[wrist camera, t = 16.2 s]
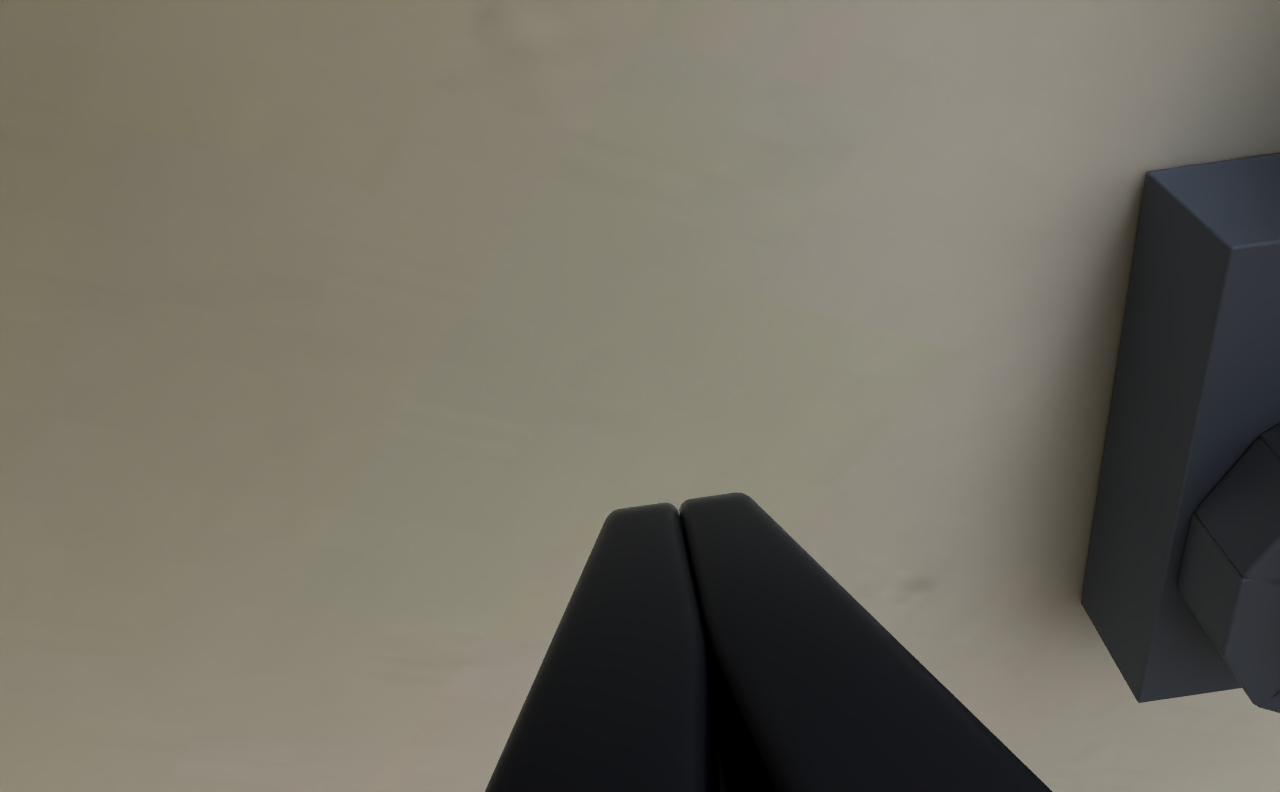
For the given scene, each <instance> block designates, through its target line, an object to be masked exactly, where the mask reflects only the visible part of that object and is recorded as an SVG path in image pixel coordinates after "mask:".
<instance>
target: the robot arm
mask: <svg viewBox="0 0 1280 792" xmlns="http://www.w3.org/2000/svg"><path fill="white" fill-rule="evenodd" d="M485 792H1052V791H1051V790H1050V789H1049V788H1048V787H1047V786H1046V785H1045V784H1044V783H1043V782H1042V781H1041V780H1040V779H1039V778H1038V777H1037V776H1036V775H1035V774H1034V773H1033V772H1032V771H1031V770H1030V769H1029V768H1028V767H1027V766H1026V765H1025V764H1024V763H1023V762H1021V761H1020V760H1019V759H1018V758H1017V757H1016V756H1015V755H1014V754H1013V753H1012V752H1011V751H1010V750H1009V749H1008V748H1007V747H1006V746H1005V745H1004V744H1003V743H1002V742H1001V741H1000V740H999V739H998V738H997V737H996V736H995V735H994V734H993V733H992V732H991V731H990V730H989V729H988V728H987V727H986V726H985V725H983V724H982V723H981V722H980V721H979V720H978V719H977V718H976V717H975V716H974V715H973V714H972V713H971V712H970V711H969V710H968V709H967V708H966V707H965V706H964V705H963V704H962V703H961V702H960V701H959V700H958V699H957V698H956V697H955V696H954V695H953V694H952V693H951V692H950V691H949V690H948V689H947V688H945V687H944V686H943V685H942V684H941V683H940V682H939V681H938V680H937V679H936V678H935V677H934V676H933V675H932V674H931V673H930V672H929V671H928V670H927V669H926V668H925V667H924V666H923V665H922V664H921V663H920V662H919V661H918V660H917V659H916V658H915V657H914V656H913V655H912V654H911V653H910V652H909V651H908V650H906V649H905V648H904V647H903V646H902V645H901V644H900V643H899V642H898V641H897V640H896V639H895V638H894V637H893V636H892V635H891V634H890V633H889V632H888V631H887V630H886V629H885V628H884V627H883V626H882V625H881V624H880V623H879V622H878V621H877V620H876V619H875V618H874V617H873V616H872V615H871V614H870V613H868V612H867V611H866V610H865V609H864V608H863V607H862V606H861V605H860V604H859V603H858V602H857V601H856V600H855V599H854V598H853V597H852V596H851V595H850V594H849V593H848V592H847V591H846V590H845V589H844V588H843V587H842V586H841V585H840V584H839V583H838V582H837V581H836V580H835V579H834V578H833V577H832V576H830V575H829V574H828V573H827V572H826V571H825V570H824V569H823V568H822V567H821V566H820V565H819V564H818V563H817V562H816V561H815V560H814V559H813V558H812V557H811V556H810V555H809V554H808V553H807V552H806V551H805V550H804V549H803V548H802V547H801V546H800V545H799V544H798V543H797V542H796V541H795V540H794V539H793V538H791V537H790V536H789V535H788V534H787V533H786V532H785V531H784V530H783V529H782V528H781V527H780V526H779V525H778V524H777V523H776V522H775V521H774V520H773V519H772V518H771V517H770V516H769V515H768V514H767V513H766V512H765V511H764V510H763V509H762V508H761V507H760V506H759V505H758V504H757V503H756V502H755V501H753V500H752V499H751V498H750V497H749V496H747V495H745V494H743V493H729V494H722V495H715V496H708V497H701V498H694V499H689V500H686V501H685V502H683V503H682V504H681V507H680V509H679V513H678V510H677V509H676V508H675V506H674V505H672V504H670V503H659V504H651V505H644V506H637V507H630V508H623V509H618V510H615V511H613V512H612V513H610V514H609V516H608V517H607V519H606V520H605V522H604V524H603V527H602V529H601V531H600V533H599V536H598V538H597V540H596V542H595V545H594V547H593V549H592V551H591V554H590V556H589V558H588V560H587V563H586V565H585V567H584V569H583V572H582V574H581V576H580V578H579V581H578V583H577V585H576V587H575V590H574V592H573V594H572V597H571V599H570V601H569V603H568V606H567V608H566V610H565V612H564V615H563V617H562V619H561V621H560V624H559V626H558V628H557V630H556V633H555V635H554V637H553V639H552V642H551V644H550V646H549V648H548V651H547V653H546V655H545V657H544V660H543V662H542V664H541V666H540V669H539V671H538V673H537V675H536V678H535V680H534V682H533V684H532V687H531V689H530V691H529V693H528V696H527V698H526V700H525V702H524V705H523V707H522V709H521V711H520V714H519V716H518V718H517V720H516V723H515V725H514V727H513V729H512V732H511V734H510V736H509V738H508V741H507V743H506V745H505V747H504V750H503V752H502V754H501V757H500V759H499V761H498V763H497V766H496V768H495V770H494V772H493V775H492V777H491V779H490V781H489V784H488V786H487V788H486V790H485Z"/></svg>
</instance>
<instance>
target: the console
mask: <svg viewBox="0 0 1280 792" xmlns="http://www.w3.org/2000/svg"><path fill="white" fill-rule="evenodd" d="M1081 604H1082V606H1083V607H1084V609H1085V611H1086V612H1087V614H1088V616H1089V618H1090V619H1091V621H1092V623H1093V625H1094V626H1095V628H1096V630H1097V632H1098V633H1099V635H1100V637H1101V639H1102V640H1103V642H1104V644H1105V646H1106V647H1107V649H1108V651H1109V653H1110V654H1111V656H1112V658H1113V660H1114V661H1115V663H1116V665H1117V667H1118V668H1119V670H1120V672H1121V674H1122V675H1123V677H1124V679H1125V681H1126V682H1127V684H1128V686H1129V688H1130V689H1131V691H1132V693H1133V695H1134V696H1135V698H1136V700H1137V701H1138V702H1139V703H1142V702H1148V701H1155V700H1162V699H1169V698H1175V697H1182V696H1189V695H1196V694H1203V693H1209V692H1216V691H1223V690H1230V689H1236V688H1243V689H1244V691H1245V692H1246V694H1247V695H1248V697H1249V698H1250V700H1251V701H1252V703H1253V704H1255V705H1257V706H1258V707H1260V708H1264V709H1267V710H1271V711H1275V712H1278V713H1280V154H1273V155H1265V156H1258V157H1251V158H1244V159H1236V160H1229V161H1222V162H1214V163H1207V164H1200V165H1193V166H1185V167H1178V168H1171V169H1163V170H1156V171H1149V172H1147V174H1146V179H1145V186H1144V192H1143V199H1142V206H1141V212H1140V219H1139V225H1138V232H1137V238H1136V245H1135V252H1134V258H1133V265H1132V271H1131V278H1130V284H1129V291H1128V298H1127V304H1126V311H1125V317H1124V324H1123V330H1122V337H1121V344H1120V350H1119V357H1118V363H1117V370H1116V376H1115V383H1114V390H1113V396H1112V403H1111V409H1110V416H1109V422H1108V429H1107V436H1106V442H1105V449H1104V455H1103V462H1102V468H1101V475H1100V482H1099V488H1098V495H1097V501H1096V508H1095V514H1094V521H1093V528H1092V534H1091V541H1090V547H1089V554H1088V560H1087V567H1086V573H1085V580H1084V587H1083V593H1082V600H1081Z"/></svg>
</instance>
